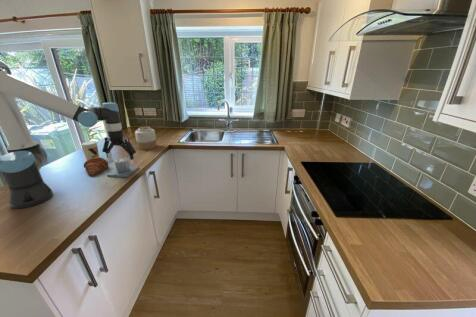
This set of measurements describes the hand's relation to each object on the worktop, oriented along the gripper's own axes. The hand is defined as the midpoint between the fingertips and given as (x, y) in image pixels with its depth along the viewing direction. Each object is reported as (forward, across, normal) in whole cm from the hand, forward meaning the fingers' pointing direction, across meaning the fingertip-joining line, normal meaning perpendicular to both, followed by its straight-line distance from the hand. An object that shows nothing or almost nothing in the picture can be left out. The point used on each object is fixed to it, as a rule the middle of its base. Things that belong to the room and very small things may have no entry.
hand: (121, 163), depth 127 cm
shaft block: (+6, 0, 0) cm, 6 cm away
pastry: (+7, +19, -2) cm, 21 cm away
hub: (+5, 0, 0) cm, 5 cm away
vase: (+6, +12, -49) cm, 51 cm away
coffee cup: (+7, +36, -18) cm, 41 cm away
